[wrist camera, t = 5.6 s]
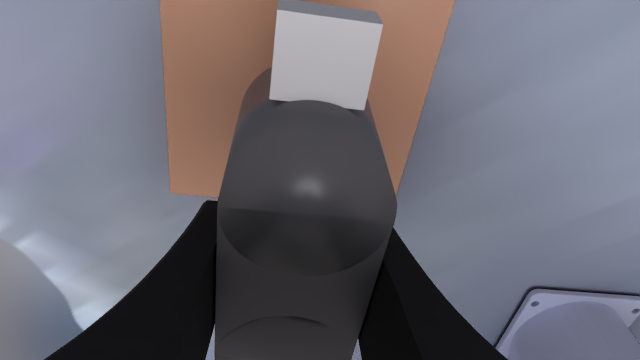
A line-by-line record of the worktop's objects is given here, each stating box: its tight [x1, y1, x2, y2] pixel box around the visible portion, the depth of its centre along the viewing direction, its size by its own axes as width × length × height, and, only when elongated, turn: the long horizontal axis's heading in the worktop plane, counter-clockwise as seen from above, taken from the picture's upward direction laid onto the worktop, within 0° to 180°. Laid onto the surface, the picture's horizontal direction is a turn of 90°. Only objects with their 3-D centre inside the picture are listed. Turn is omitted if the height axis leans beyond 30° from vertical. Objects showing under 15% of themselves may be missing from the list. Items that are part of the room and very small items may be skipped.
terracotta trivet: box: [160, 0, 455, 197], centre depth 20 cm, size 11×11×1 cm
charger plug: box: [215, 0, 397, 360], centre depth 12 cm, size 10×4×4 cm, turn 172°
